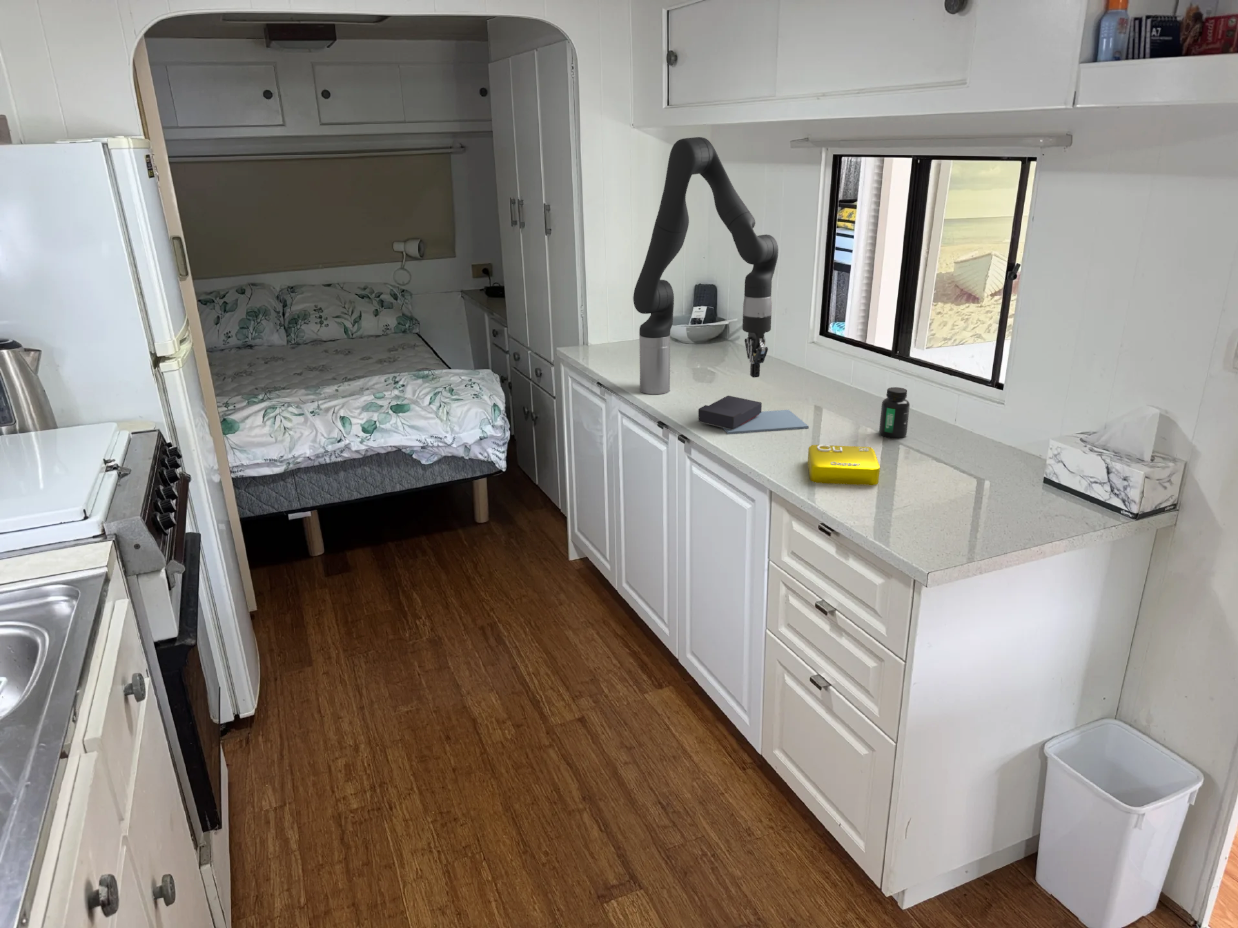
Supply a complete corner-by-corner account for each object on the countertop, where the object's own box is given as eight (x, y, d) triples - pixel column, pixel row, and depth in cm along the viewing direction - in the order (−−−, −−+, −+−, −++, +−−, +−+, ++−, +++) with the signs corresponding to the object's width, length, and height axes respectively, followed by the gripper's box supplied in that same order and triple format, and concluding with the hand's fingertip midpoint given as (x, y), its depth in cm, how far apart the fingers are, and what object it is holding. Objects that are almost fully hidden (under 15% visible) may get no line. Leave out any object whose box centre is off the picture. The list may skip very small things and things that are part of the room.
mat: (712, 417, 237) (712, 414, 237) (788, 411, 240) (788, 409, 240) (727, 434, 223) (728, 431, 223) (808, 428, 226) (808, 426, 226)
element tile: (810, 484, 191) (811, 464, 189) (807, 461, 205) (808, 442, 203) (879, 487, 189) (881, 467, 187) (871, 463, 203) (873, 444, 201)
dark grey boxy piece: (727, 407, 241) (697, 424, 230) (727, 393, 239) (697, 409, 228) (761, 415, 234) (732, 432, 224) (762, 400, 232) (733, 416, 222)
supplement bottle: (890, 440, 216) (895, 394, 212) (873, 432, 222) (877, 387, 218) (912, 436, 219) (917, 391, 214) (894, 429, 225) (899, 384, 220)
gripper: (736, 309, 232) (734, 371, 239) (751, 318, 220) (749, 383, 226) (762, 308, 234) (760, 370, 240) (779, 317, 221) (776, 382, 227)
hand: (754, 376), depth 233 cm, fingers closed
